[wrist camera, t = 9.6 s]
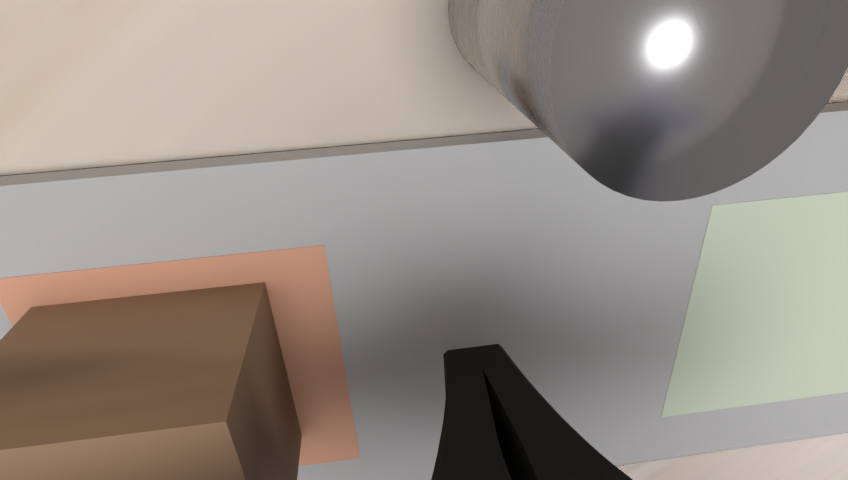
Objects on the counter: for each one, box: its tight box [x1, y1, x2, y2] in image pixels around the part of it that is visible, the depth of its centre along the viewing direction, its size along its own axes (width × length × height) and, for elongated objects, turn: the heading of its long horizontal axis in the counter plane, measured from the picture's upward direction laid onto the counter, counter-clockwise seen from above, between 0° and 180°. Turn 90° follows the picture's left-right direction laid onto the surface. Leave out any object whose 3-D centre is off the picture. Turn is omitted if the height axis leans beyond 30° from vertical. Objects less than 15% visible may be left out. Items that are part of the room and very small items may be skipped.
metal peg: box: [448, 0, 848, 202], centre depth 7 cm, size 3×3×6 cm
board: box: [0, 102, 848, 480], centre depth 14 cm, size 11×24×1 cm, turn 93°
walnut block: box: [0, 282, 302, 480], centre depth 11 cm, size 5×5×4 cm
